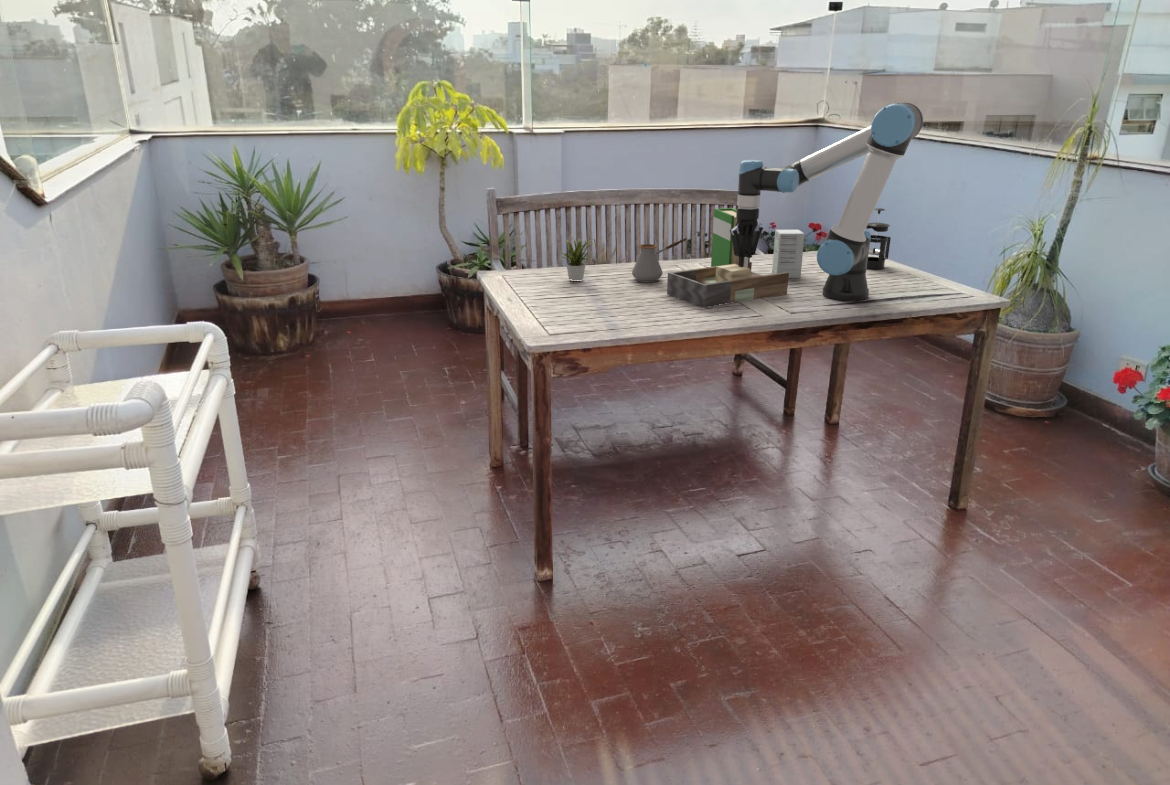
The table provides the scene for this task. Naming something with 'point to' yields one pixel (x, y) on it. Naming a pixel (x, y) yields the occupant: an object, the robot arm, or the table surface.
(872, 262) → the french press
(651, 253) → the coffee pot
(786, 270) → the supplement box
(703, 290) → the tray
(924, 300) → the table surface
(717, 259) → the hardback book
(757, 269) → the table surface
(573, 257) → the house plant
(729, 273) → the birch block
